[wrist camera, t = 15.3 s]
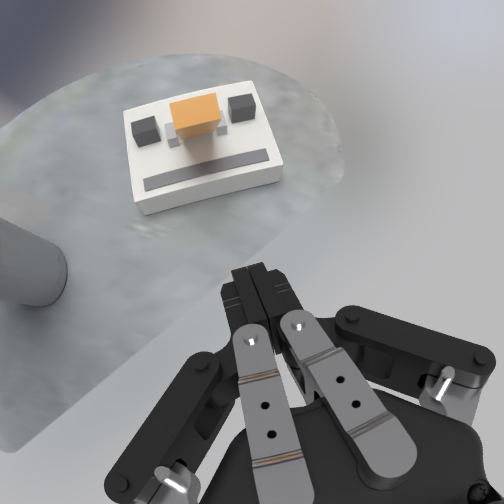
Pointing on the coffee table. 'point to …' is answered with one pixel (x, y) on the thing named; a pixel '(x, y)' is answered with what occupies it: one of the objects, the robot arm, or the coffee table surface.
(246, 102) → the white slotted plate
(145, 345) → the coffee table surface
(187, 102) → the breaker handle
